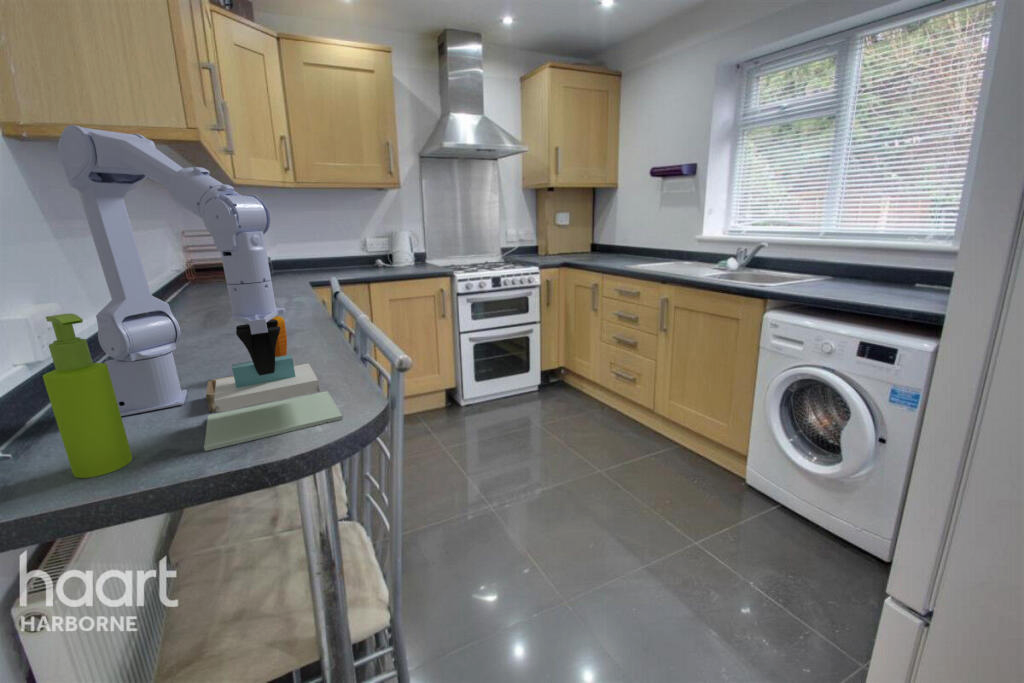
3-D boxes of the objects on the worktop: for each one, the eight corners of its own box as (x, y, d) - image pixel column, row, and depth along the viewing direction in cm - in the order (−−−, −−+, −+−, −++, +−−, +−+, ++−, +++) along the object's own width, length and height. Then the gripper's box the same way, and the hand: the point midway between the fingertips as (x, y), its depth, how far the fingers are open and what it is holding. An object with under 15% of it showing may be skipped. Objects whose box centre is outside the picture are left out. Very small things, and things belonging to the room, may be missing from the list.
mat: (204, 451, 64) (204, 447, 63) (208, 418, 74) (208, 415, 74) (342, 419, 72) (342, 415, 72) (328, 394, 83) (327, 391, 83)
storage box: (209, 412, 77) (205, 395, 76) (211, 396, 85) (208, 380, 84) (289, 396, 83) (286, 380, 82) (284, 382, 90) (282, 367, 90)
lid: (216, 412, 64) (209, 379, 63) (218, 390, 73) (212, 361, 72) (319, 391, 71) (314, 360, 70) (310, 373, 80) (305, 346, 78)
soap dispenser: (86, 485, 56) (36, 322, 51) (66, 471, 60) (17, 317, 55) (143, 463, 61) (103, 312, 56) (121, 451, 65) (81, 308, 60)
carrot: (286, 373, 96) (273, 301, 92) (262, 374, 96) (248, 301, 92) (297, 366, 101) (286, 296, 97) (274, 366, 101) (262, 297, 97)
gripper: (284, 283, 64) (300, 378, 67) (276, 275, 76) (289, 355, 79) (224, 289, 60) (244, 388, 64) (225, 279, 72) (242, 363, 76)
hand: (266, 371), depth 71 cm, fingers closed on lid, 2 cm apart
